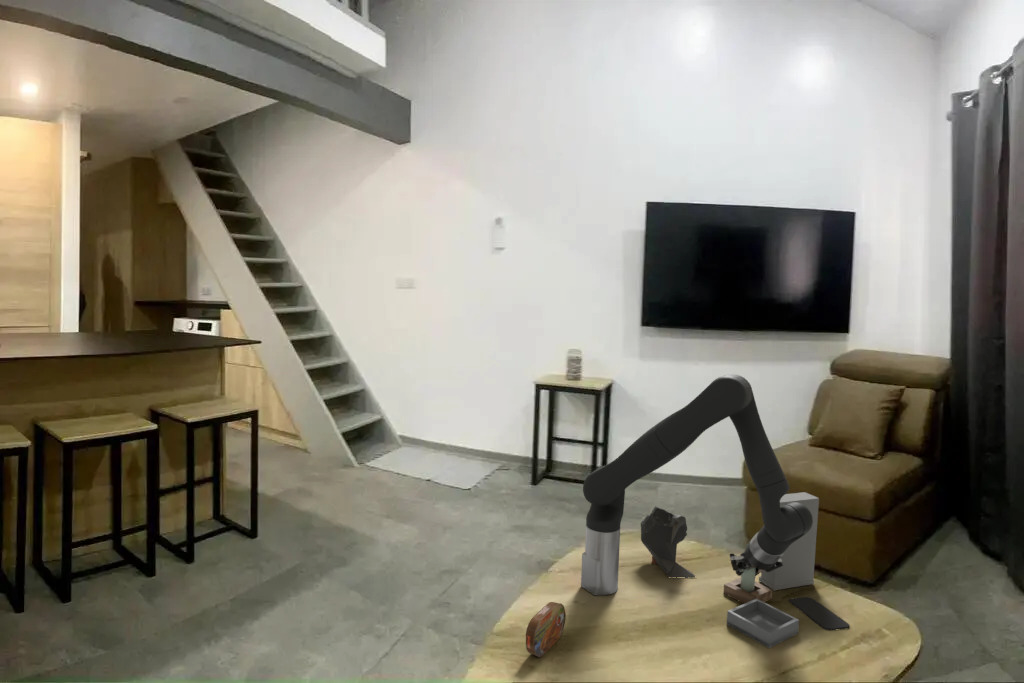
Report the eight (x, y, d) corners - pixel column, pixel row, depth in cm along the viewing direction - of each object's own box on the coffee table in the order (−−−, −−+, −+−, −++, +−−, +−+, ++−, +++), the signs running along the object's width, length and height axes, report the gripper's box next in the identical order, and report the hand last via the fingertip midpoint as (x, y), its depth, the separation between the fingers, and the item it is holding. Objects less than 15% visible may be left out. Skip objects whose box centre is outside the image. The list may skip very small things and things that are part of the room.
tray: (769, 648, 141) (769, 633, 141) (726, 624, 151) (727, 610, 151) (798, 633, 148) (799, 619, 147) (755, 611, 157) (756, 598, 157)
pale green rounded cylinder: (748, 596, 163) (751, 560, 162) (737, 590, 166) (739, 555, 165) (756, 593, 165) (759, 557, 164) (745, 587, 168) (747, 552, 167)
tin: (534, 664, 134) (535, 627, 133) (522, 659, 135) (523, 622, 134) (566, 632, 146) (567, 598, 145) (554, 628, 148) (555, 594, 147)
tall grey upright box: (797, 574, 178) (803, 491, 176) (813, 584, 173) (819, 498, 170) (758, 581, 174) (763, 495, 172) (773, 591, 168) (779, 502, 166)
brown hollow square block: (751, 607, 159) (752, 598, 159) (723, 593, 167) (724, 584, 166) (771, 598, 164) (772, 589, 164) (743, 585, 171) (744, 576, 171)
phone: (810, 596, 165) (852, 626, 151) (810, 599, 166) (852, 629, 151) (786, 598, 164) (825, 629, 149) (785, 601, 164) (825, 632, 149)
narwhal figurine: (679, 554, 190) (682, 498, 188) (697, 578, 175) (700, 516, 173) (634, 554, 189) (636, 497, 188) (647, 578, 174) (650, 516, 172)
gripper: (790, 535, 156) (768, 559, 169) (734, 532, 156) (716, 557, 170) (798, 564, 151) (774, 587, 164) (740, 562, 152) (721, 585, 165)
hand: (745, 572), depth 167 cm, fingers closed on pale green rounded cylinder, 3 cm apart
